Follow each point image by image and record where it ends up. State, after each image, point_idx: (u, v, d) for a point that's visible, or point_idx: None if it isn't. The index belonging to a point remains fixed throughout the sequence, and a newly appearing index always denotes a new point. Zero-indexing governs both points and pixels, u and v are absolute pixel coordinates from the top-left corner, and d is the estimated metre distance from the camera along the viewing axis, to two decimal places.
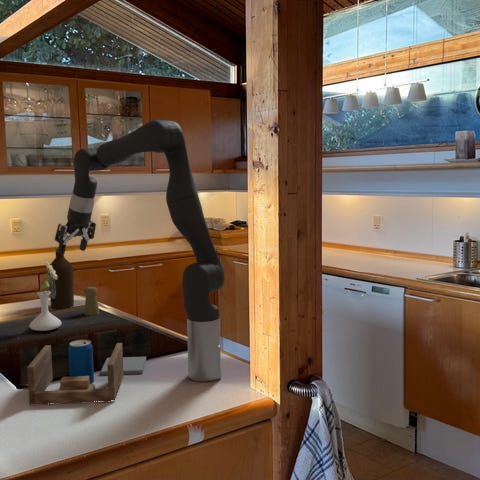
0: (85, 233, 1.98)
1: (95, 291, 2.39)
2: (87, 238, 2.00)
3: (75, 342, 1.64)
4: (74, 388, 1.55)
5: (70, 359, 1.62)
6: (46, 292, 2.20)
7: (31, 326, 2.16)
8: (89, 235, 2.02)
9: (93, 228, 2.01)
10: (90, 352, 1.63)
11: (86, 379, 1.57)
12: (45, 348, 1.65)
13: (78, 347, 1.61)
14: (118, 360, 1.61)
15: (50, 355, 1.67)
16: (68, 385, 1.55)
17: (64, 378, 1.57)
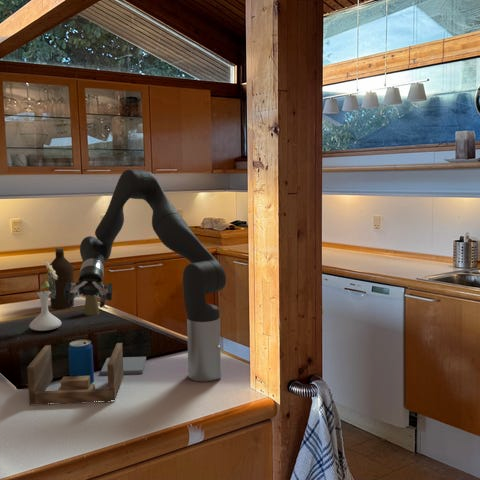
0: (97, 286, 1.82)
1: None
2: (103, 292, 1.81)
3: (75, 342, 1.64)
4: (75, 388, 1.55)
5: (70, 359, 1.62)
6: (46, 292, 2.20)
7: (31, 326, 2.16)
8: None
9: (109, 286, 1.84)
10: (90, 352, 1.63)
11: (87, 378, 1.57)
12: (45, 348, 1.65)
13: (78, 347, 1.61)
14: (118, 360, 1.61)
15: (50, 355, 1.67)
16: (69, 385, 1.55)
17: (65, 378, 1.57)
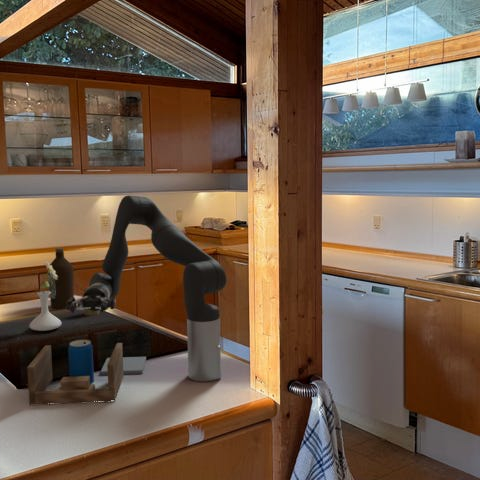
0: (100, 297, 1.82)
1: None
2: (105, 300, 1.80)
3: (75, 342, 1.64)
4: (74, 388, 1.55)
5: (70, 359, 1.62)
6: (46, 292, 2.20)
7: (31, 326, 2.16)
8: None
9: (112, 298, 1.84)
10: (90, 352, 1.63)
11: (86, 379, 1.56)
12: (45, 348, 1.65)
13: (78, 347, 1.61)
14: (118, 360, 1.61)
15: (50, 355, 1.67)
16: (68, 385, 1.55)
17: (64, 378, 1.57)
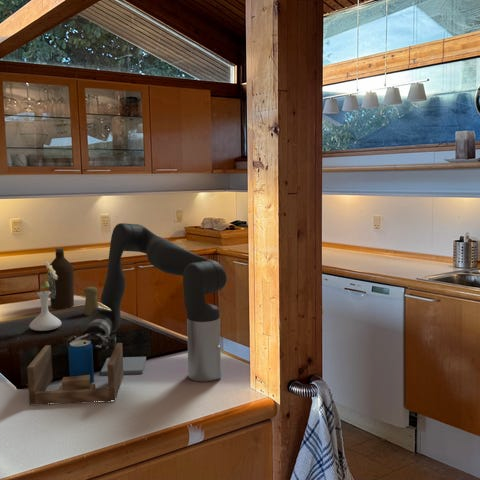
0: (100, 335, 1.81)
1: (95, 291, 2.39)
2: (105, 339, 1.79)
3: (75, 342, 1.64)
4: (76, 387, 1.56)
5: (70, 359, 1.62)
6: (46, 292, 2.20)
7: (31, 326, 2.16)
8: None
9: (112, 335, 1.82)
10: (90, 352, 1.63)
11: (88, 378, 1.57)
12: (45, 348, 1.65)
13: (78, 347, 1.61)
14: (118, 360, 1.61)
15: (50, 355, 1.67)
16: (70, 385, 1.55)
17: (65, 378, 1.57)
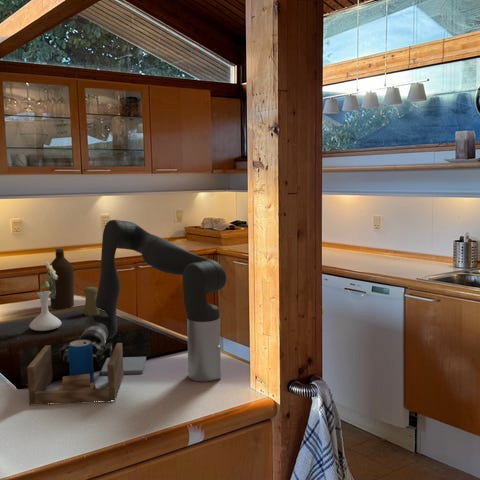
0: (95, 344, 1.72)
1: (95, 291, 2.39)
2: (100, 348, 1.70)
3: (75, 342, 1.64)
4: (77, 386, 1.57)
5: (70, 359, 1.62)
6: (46, 292, 2.20)
7: (31, 326, 2.16)
8: None
9: (108, 344, 1.74)
10: (90, 352, 1.63)
11: (88, 376, 1.58)
12: (45, 348, 1.65)
13: (78, 347, 1.61)
14: (118, 360, 1.61)
15: (50, 355, 1.67)
16: (71, 384, 1.56)
17: (65, 377, 1.58)
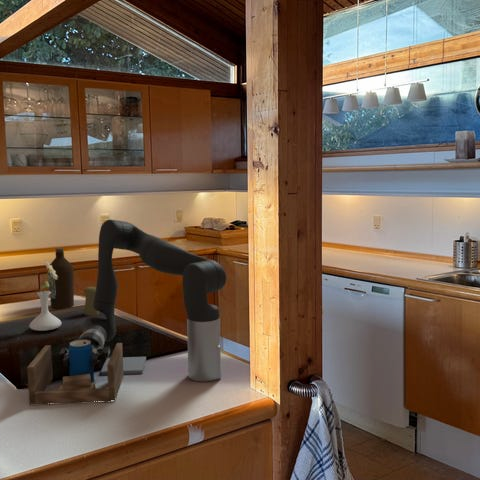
0: None
1: None
2: (96, 352, 1.67)
3: (75, 342, 1.64)
4: (77, 386, 1.56)
5: (70, 359, 1.62)
6: (46, 292, 2.20)
7: (31, 326, 2.16)
8: None
9: (105, 348, 1.70)
10: (90, 352, 1.63)
11: (89, 376, 1.58)
12: (45, 348, 1.65)
13: (78, 347, 1.61)
14: (118, 360, 1.61)
15: (50, 355, 1.67)
16: (71, 384, 1.56)
17: (65, 377, 1.57)
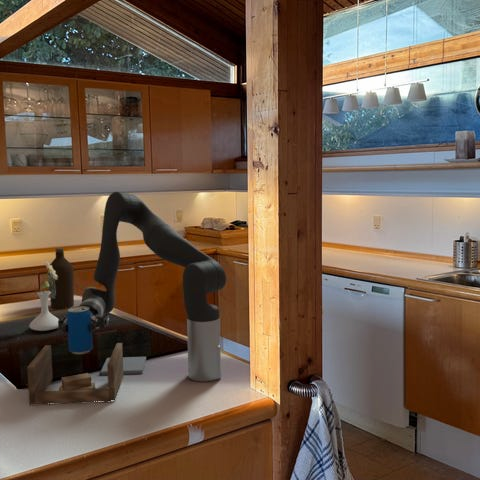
0: (91, 315, 1.68)
1: None
2: (95, 319, 1.65)
3: (73, 308, 1.63)
4: (78, 386, 1.57)
5: (68, 325, 1.60)
6: (46, 292, 2.20)
7: (31, 326, 2.16)
8: None
9: (104, 315, 1.69)
10: (89, 318, 1.61)
11: (88, 375, 1.59)
12: (45, 348, 1.65)
13: (76, 313, 1.59)
14: (118, 360, 1.61)
15: (50, 355, 1.67)
16: (72, 384, 1.56)
17: (64, 378, 1.57)
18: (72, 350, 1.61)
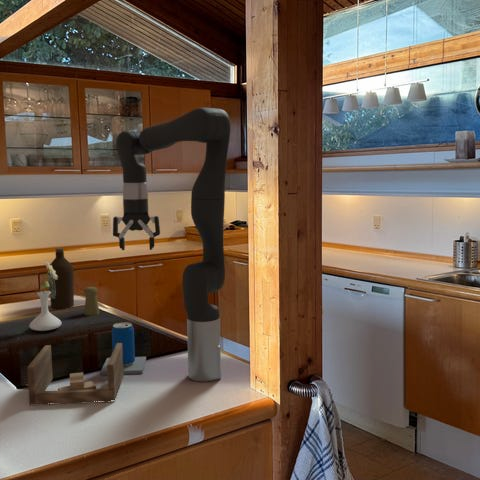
0: (144, 227, 1.82)
1: (95, 291, 2.39)
2: (150, 234, 1.83)
3: (118, 324, 1.78)
4: None
5: (114, 340, 1.75)
6: (46, 292, 2.20)
7: (31, 326, 2.16)
8: (155, 232, 1.83)
9: (156, 222, 1.82)
10: (132, 333, 1.76)
11: (79, 373, 1.61)
12: (45, 348, 1.65)
13: (121, 329, 1.74)
14: (118, 360, 1.61)
15: (50, 355, 1.67)
16: None
17: (74, 381, 1.55)
18: None
